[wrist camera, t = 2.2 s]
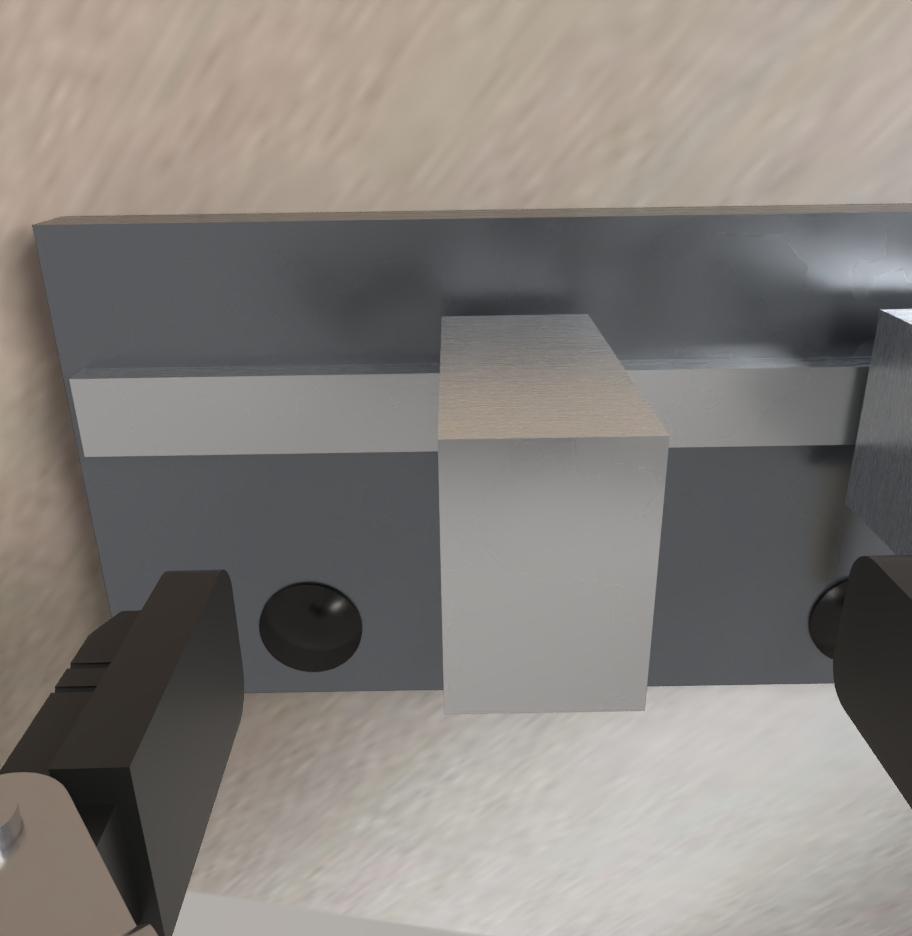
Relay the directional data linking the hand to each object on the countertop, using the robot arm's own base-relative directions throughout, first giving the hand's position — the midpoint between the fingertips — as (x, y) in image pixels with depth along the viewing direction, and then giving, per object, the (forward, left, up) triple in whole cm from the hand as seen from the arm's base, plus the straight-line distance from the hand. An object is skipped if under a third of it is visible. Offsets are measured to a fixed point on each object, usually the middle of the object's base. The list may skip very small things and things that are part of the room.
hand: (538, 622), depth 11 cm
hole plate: (-1, +2, -11) cm, 11 cm away
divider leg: (0, +2, -8) cm, 8 cm away
